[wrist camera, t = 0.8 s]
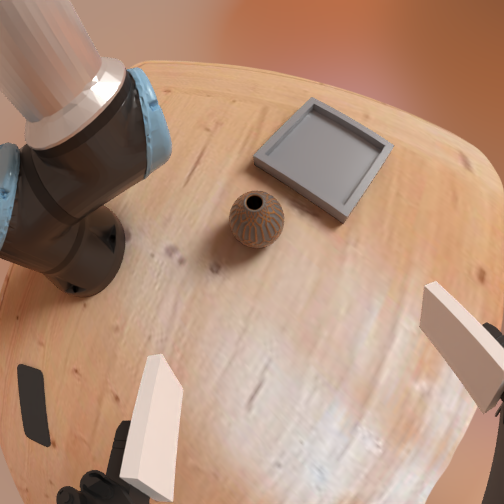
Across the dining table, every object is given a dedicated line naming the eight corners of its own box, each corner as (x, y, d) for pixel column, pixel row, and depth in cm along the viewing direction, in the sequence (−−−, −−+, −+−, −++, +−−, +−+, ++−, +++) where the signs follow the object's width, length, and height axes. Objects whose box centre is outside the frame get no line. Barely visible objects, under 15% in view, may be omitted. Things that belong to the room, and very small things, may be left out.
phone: (24, 436, 33) (16, 362, 37) (27, 435, 33) (19, 362, 37) (50, 448, 32) (41, 371, 36) (53, 447, 33) (44, 370, 37)
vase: (241, 260, 40) (232, 239, 31) (227, 215, 41) (216, 185, 33) (290, 244, 40) (294, 220, 31) (273, 200, 42) (273, 168, 33)
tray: (254, 164, 44) (253, 155, 41) (310, 106, 46) (311, 97, 44) (343, 223, 40) (347, 216, 38) (389, 153, 43) (394, 145, 40)
